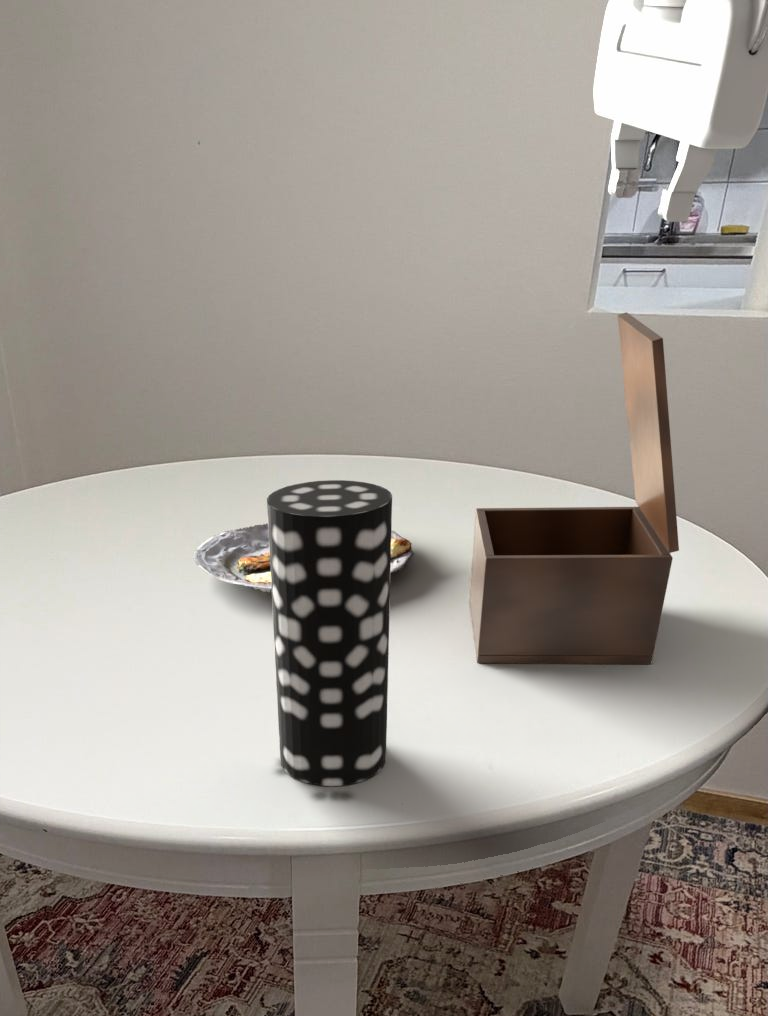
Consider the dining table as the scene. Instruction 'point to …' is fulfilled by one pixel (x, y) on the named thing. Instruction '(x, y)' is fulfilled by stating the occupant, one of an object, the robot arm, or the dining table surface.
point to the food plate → (263, 556)
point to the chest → (566, 585)
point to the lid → (649, 426)
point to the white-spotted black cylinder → (331, 627)
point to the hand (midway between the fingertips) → (645, 207)
